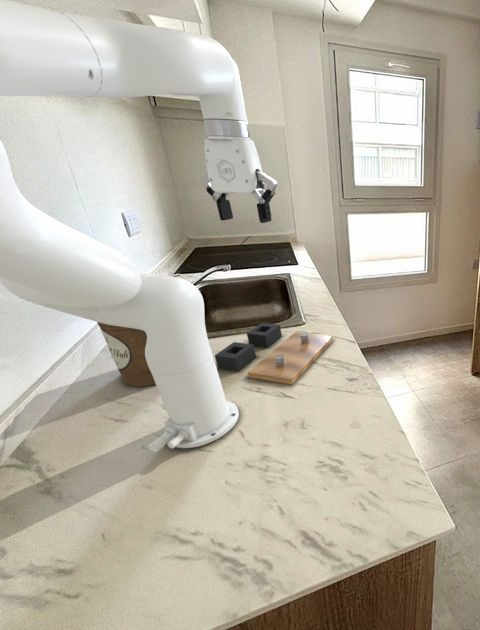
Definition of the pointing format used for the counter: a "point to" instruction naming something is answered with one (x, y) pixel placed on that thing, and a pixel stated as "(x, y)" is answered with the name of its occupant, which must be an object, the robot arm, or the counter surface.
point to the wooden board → (291, 358)
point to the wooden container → (128, 353)
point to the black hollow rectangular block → (235, 356)
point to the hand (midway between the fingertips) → (246, 220)
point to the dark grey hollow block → (264, 335)
